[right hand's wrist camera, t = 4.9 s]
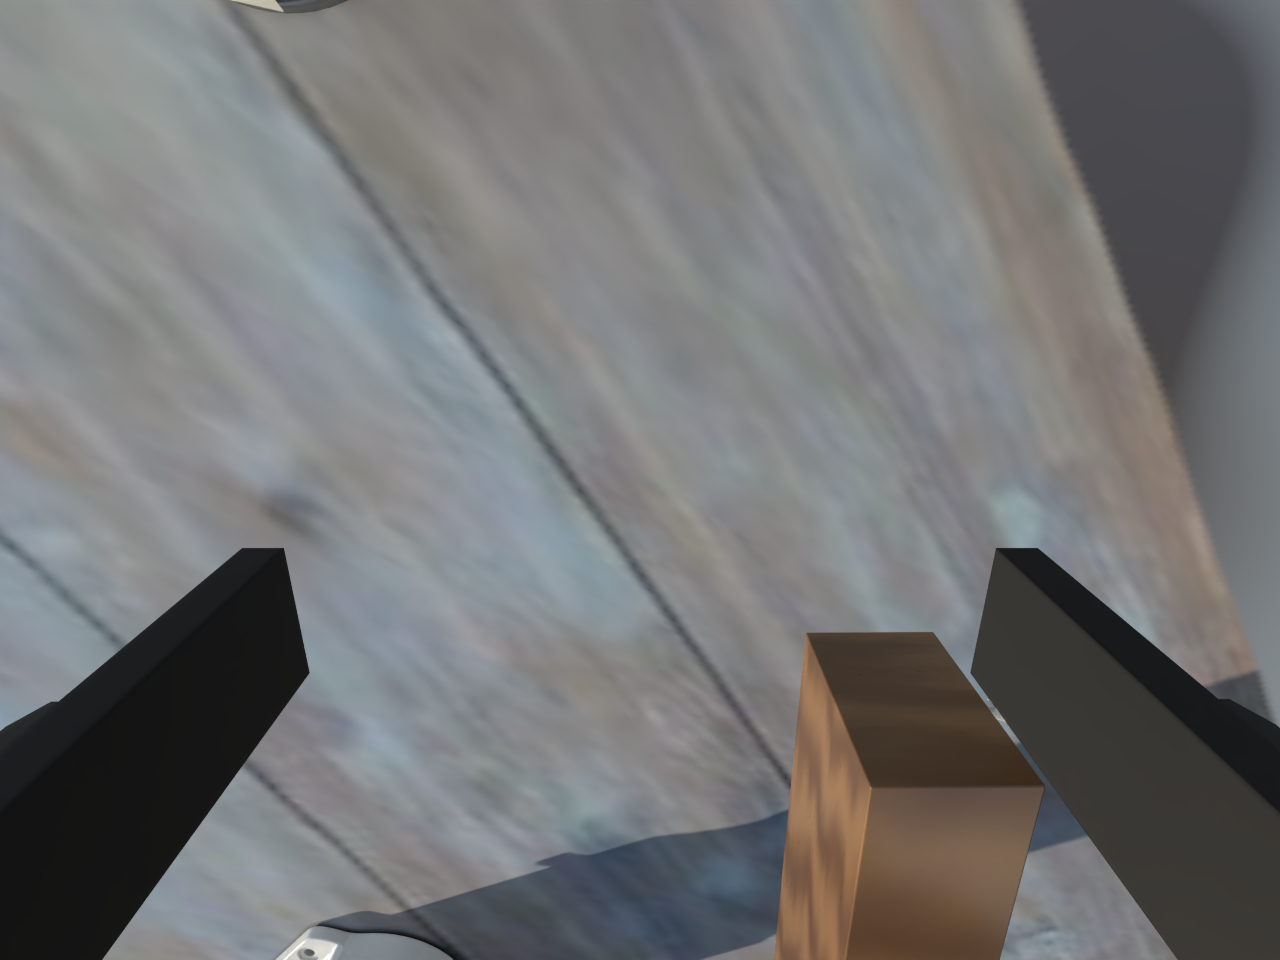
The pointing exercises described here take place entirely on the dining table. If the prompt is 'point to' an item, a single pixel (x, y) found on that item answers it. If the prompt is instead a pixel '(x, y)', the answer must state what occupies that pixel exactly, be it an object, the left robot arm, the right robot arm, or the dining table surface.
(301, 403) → the dining table surface
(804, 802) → the box
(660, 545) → the dining table surface
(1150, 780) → the right robot arm
